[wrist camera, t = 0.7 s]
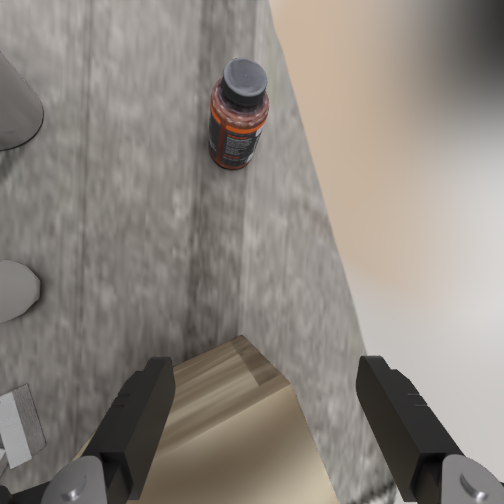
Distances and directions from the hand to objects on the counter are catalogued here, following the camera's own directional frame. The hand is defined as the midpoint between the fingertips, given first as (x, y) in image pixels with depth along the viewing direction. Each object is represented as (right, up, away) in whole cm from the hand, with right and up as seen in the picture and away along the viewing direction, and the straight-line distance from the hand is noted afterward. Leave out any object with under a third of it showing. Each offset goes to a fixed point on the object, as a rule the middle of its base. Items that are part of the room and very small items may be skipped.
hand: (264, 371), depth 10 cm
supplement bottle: (-3, +19, +22) cm, 29 cm away
